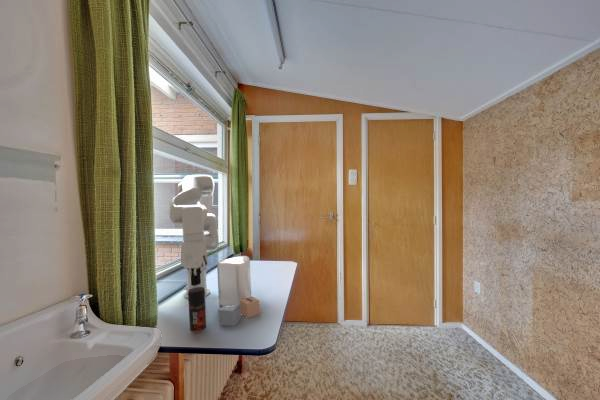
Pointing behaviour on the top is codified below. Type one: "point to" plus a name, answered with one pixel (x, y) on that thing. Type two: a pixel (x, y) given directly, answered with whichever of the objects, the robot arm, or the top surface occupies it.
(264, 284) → the top surface
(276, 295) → the top surface
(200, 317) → the deodorant
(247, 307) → the terracotta block marked
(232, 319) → the slate block marked
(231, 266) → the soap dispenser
